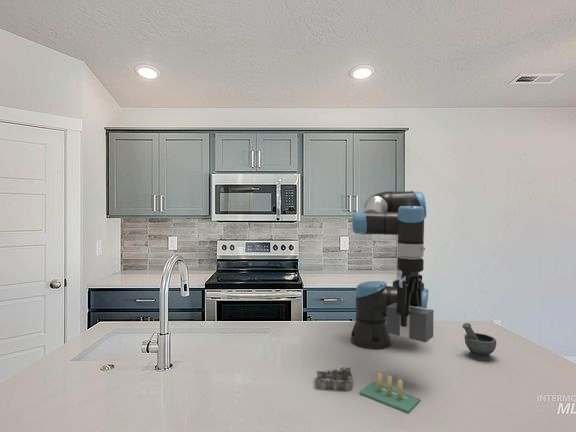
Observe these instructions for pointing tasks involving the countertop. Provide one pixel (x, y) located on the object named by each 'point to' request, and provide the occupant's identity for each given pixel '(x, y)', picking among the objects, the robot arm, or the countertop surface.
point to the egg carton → (335, 374)
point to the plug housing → (411, 322)
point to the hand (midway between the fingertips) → (409, 333)
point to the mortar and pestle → (479, 343)
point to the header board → (390, 394)
